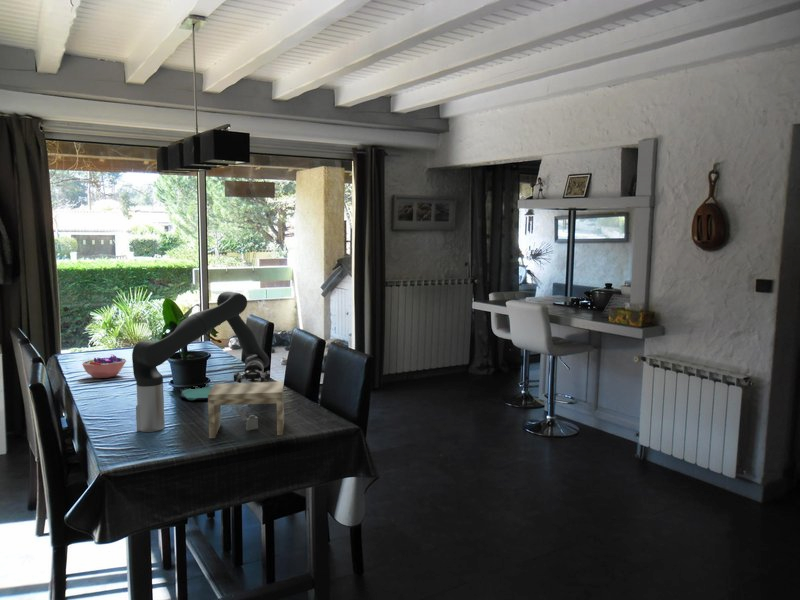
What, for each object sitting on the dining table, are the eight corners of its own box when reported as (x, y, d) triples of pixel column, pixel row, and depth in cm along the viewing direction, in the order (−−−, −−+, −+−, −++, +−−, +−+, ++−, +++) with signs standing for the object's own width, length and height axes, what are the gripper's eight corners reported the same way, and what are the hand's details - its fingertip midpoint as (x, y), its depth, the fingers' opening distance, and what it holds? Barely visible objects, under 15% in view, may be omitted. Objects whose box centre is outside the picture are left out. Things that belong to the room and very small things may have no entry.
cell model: (83, 375, 314) (82, 353, 313) (126, 371, 322) (125, 350, 321) (82, 382, 299) (81, 360, 297) (127, 379, 307) (126, 356, 306)
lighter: (256, 427, 233) (256, 406, 232) (258, 428, 232) (257, 407, 231) (238, 430, 229) (237, 409, 228) (239, 431, 228) (239, 410, 227)
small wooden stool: (209, 438, 220) (207, 394, 219) (215, 424, 236) (214, 383, 234) (282, 434, 224) (282, 392, 223) (284, 421, 240) (283, 381, 238)
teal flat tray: (185, 405, 263) (185, 399, 263) (173, 389, 289) (172, 384, 289) (231, 399, 273) (231, 394, 273) (215, 384, 299) (215, 379, 299)
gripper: (236, 362, 256) (231, 371, 240) (271, 361, 258) (269, 370, 242) (237, 380, 256) (232, 390, 241) (271, 378, 259) (269, 388, 243)
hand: (250, 380), depth 241 cm, fingers open, 8 cm apart
